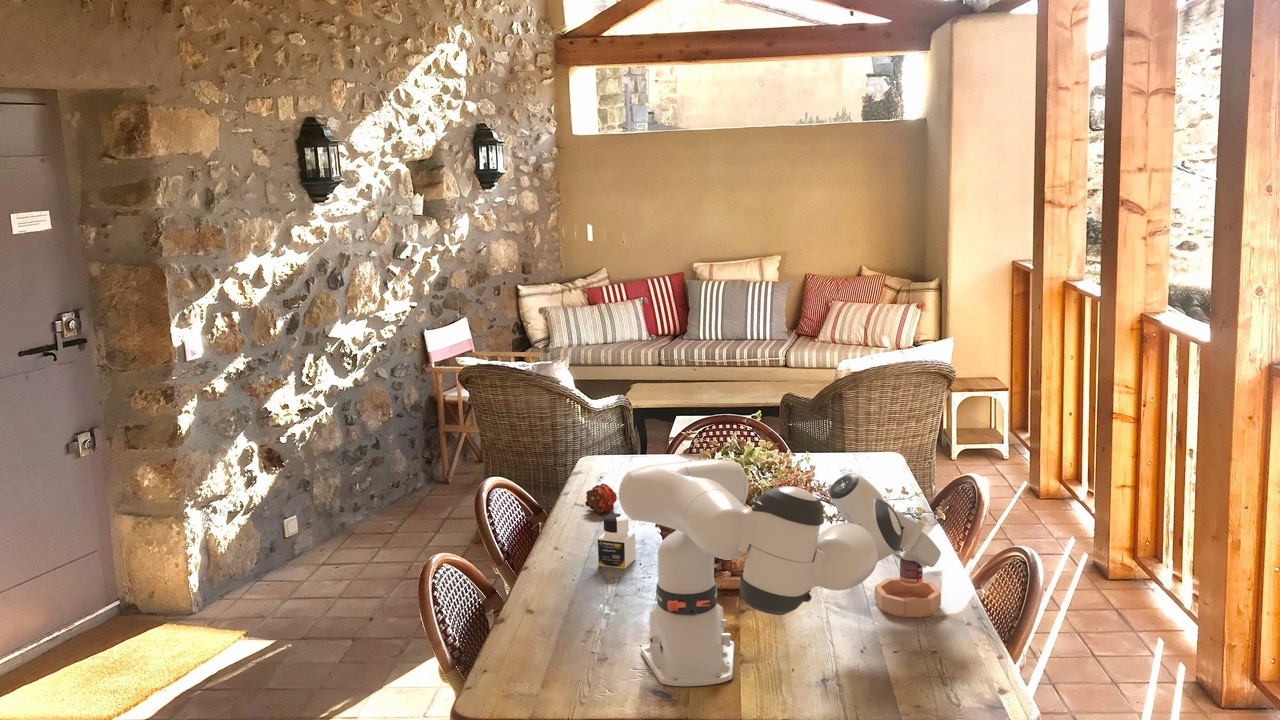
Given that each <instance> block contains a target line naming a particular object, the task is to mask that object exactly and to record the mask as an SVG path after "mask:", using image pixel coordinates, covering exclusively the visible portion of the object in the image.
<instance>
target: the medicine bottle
mask: <svg viewBox="0 0 1280 720" xmlns="http://www.w3.org/2000/svg"><path fill="white" fill-rule="evenodd" d="M636 550H637V549H636V532H635V531H630V530H629V517H628V516H627V515H626V514H623V513H610V514H608V515H605V516H604V517H603V534H602V535H600V536H599V537H598V538H597V555H598V556H597V558H598V561H597V562H598V566H599V567H606V568H615V569H623V570H625V569H626V568H627V567H629V566H630V565H631V564H632V563H633V562H634V561H635V560H636V559H637V555H636V554H637V553H636Z"/></svg>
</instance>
